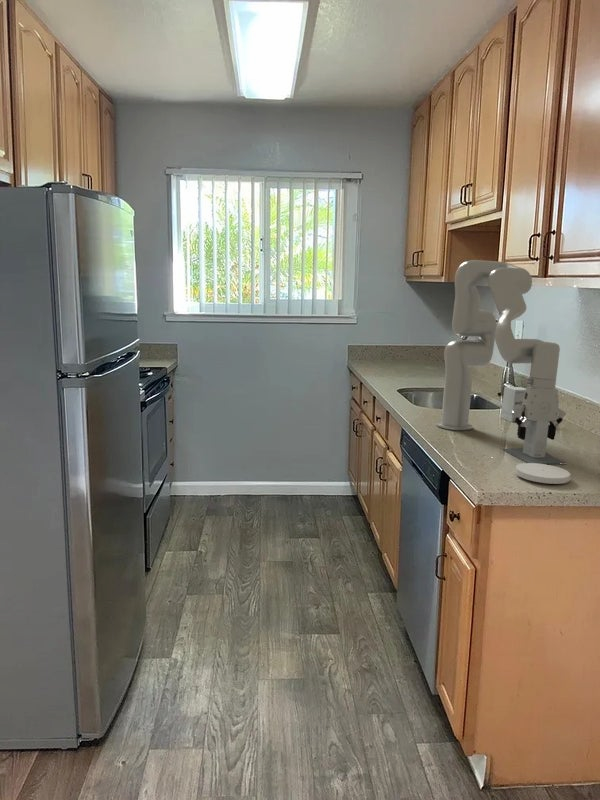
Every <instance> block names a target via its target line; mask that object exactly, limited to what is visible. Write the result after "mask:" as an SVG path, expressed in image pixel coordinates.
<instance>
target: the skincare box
mask: <svg viewBox="0 0 600 800" xmlns="http://www.w3.org/2000/svg"><path fill="white" fill-rule="evenodd" d="M549 425H550V423H549V421H539V420H538V421H537V422H532V421H529V422H528V423H527V424H526V425H525V427H526V434H525V439H524V440H523V447H522V448H523V453H524V454H526V455H529V456H531V457H533V458H544V457H545V452H546V451H547V444H548V443H547V442H548V438H547V435H548V426H549ZM546 453H547V452H546Z"/></svg>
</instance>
